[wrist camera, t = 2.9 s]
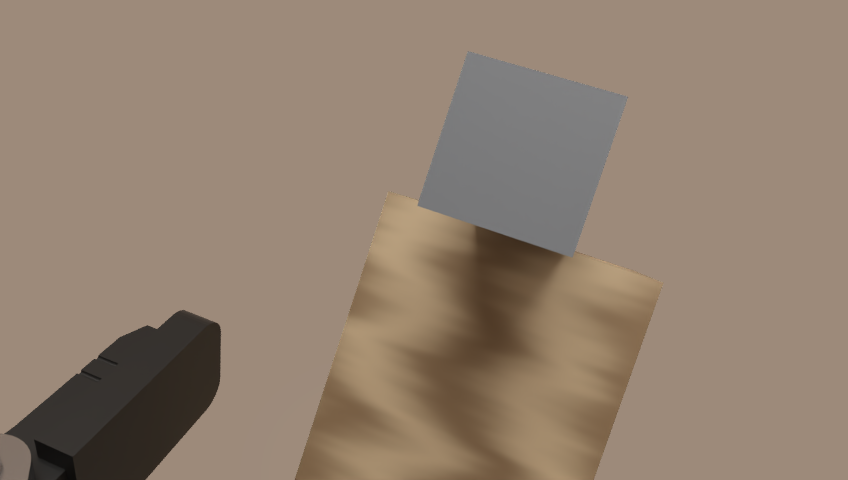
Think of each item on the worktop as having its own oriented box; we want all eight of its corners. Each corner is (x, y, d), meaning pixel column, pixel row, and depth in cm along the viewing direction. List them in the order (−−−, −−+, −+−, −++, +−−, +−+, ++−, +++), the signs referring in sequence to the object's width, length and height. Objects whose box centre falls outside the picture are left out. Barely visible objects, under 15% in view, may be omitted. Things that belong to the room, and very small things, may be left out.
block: (417, 205, 17) (467, 51, 17) (507, 228, 46) (526, 172, 46) (572, 257, 16) (628, 96, 16) (564, 246, 46) (583, 190, 45)
